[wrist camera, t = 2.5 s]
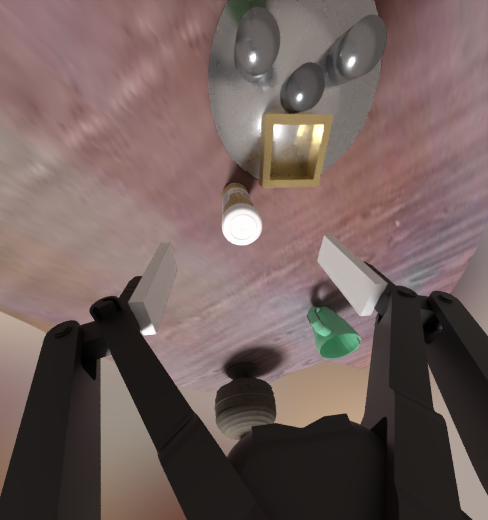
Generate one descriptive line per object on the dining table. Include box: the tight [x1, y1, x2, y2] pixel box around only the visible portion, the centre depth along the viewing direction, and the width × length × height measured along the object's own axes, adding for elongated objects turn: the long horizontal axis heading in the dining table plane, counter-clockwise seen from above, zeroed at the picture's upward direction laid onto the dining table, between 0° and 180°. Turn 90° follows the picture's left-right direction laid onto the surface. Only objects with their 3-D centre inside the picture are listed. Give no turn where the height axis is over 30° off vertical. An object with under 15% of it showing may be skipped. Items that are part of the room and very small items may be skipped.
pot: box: [215, 362, 276, 440], centre depth 56 cm, size 18×18×20 cm
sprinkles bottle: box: [222, 183, 262, 245], centre depth 26 cm, size 5×5×14 cm
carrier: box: [208, 0, 387, 188], centre depth 23 cm, size 22×22×6 cm
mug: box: [307, 306, 361, 359], centre depth 46 cm, size 15×10×10 cm
